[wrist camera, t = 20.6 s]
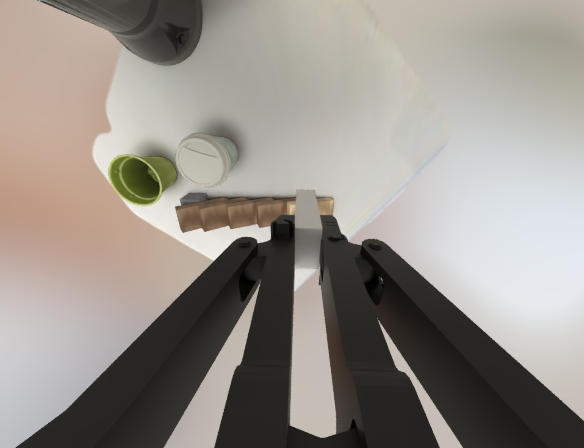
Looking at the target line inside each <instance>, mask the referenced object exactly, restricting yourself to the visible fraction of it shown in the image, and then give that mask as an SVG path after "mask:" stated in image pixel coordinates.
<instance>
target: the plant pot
mask: <svg viewBox="0 0 584 448" xmlns="http://www.w3.org/2000/svg"><path fill="white" fill-rule="evenodd" d="M108 175H109V180H110V182H111V185H112V186H113V188H114V190H115V191H116V192H117V193H118V194H119V195H120V196H121V197H122V198H123V199H125V200H126V201H128V202H130V203H132V204H135V205H138V206H149V205H152V204H154V203H156V202H157V201H158V200H159V199H160V197H161V194H162V192H163V191H164V190H166V189H167V188H168V187H169V186H170V185H171V184H173V183H174V182H175V180H176V178H177V173H176V170H175V167H174V165H173V164H172V163H171V162H170V161H169V160H168V159H166V158H164V157H138V156H135V155H130V154H123V155H119V156H117V157H115V158H114V159H113V160H112V161H111V163H110V165H109V168H108ZM156 177H157V178H158V180H157V179H156Z"/></svg>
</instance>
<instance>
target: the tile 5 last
mask: <svg viewBox="0 0 584 448" xmlns="http://www.w3.org/2000/svg"><path fill="white" fill-rule="evenodd" d="M225 200H227V199H226V198H225V197H223V198H218V199H213V200H207V201H202V202H197V203H192V204H187V205H181V206H176V207H175V209H176V213H177V217H178V221H179V224H180V228H181V231H182V232H183V233H184V232H188V231H192V230H196V229H199V228H202V225H201V220H200V216H199V211H198V206H201V205H206V204H211V203H216V202H220V201H225Z"/></svg>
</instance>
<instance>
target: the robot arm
mask: <svg viewBox="0 0 584 448" xmlns="http://www.w3.org/2000/svg"><path fill="white" fill-rule="evenodd" d="M38 1H40V2H43V3H45V4H48V5H50V6H52V7H54V8H57V9H59V10H62V11H64V12H66V13H69V14H71V15H74V16H76V17H78V18H80V19H83V20H85V21H88V22H90V23H92V24H95V25H97V26H99V27H102V28H104V29H107V30H108V31H109V32H111V33H112V34H113V35H114V36H115V37H116V38H117V39H118V40H119V41H120V42H121V43H122V44H123V45H124V46H125V47H126V48H127V49H128V50H129V51H131V52H132V53H134V54H135V55H137V56H139V57H140V58H142V59H145V60H147V61H150V62H153V63H156V64H159V65H174V64H177V63H180V62H182V61H183V60H185V59H186V58H187V57H188V56H189V55H190V54H191V53H192V52H193V50H194V49H195V47H196V45H197V43H198V40H199V37H200V33H201V27H202V9H201V2H200V0H38ZM319 266H320V276H319V285H321V290H322V299H323V307H324V316H325V323H326V333H327V341H328V349H329V358H330V366H331V374H332V383H333V391H334V400H335V408H336V434H335V435H332V436H329V437H326V438H320V437H317V436H314V435H312V434H309V433H307V432H304V431H302V430H299V429H297V428H295V427H292V426H290V399H291V367H292V336H293V304H294V270H295V269H319ZM381 278H382V280H383V281H382V280H381ZM260 281H261V282H260ZM259 284H260V287H259V291H258V295H257V299H256V304H255V308H254V312H253V316H252V321H251V325H250V329H249V333H248V338H247V342H246V346H245V350H244V355H243V359H242V362H241V364H240V365H239V366H237V367H236V369H235V371H234V375H233V378H232V381H231V385H230V389H229V393H228V396H227V400H226V405H225V409H224V412H223V416H222V420H221V424H220V428H219V432H218V435H217V439H216V443H215V447H214V448H440V447H439V445H438V443H437V440H436V438H435V436H434V433H433V431H432V428H431V426H430V424H429V421H428V419H427V417H426V414H425V412H424V409H423V407H422V405H421V402H420V400H419V397H418V395H417V393H416V390H415V388H414V386H413V384H412V382H411V380H410V378H409V377H408V376H407V375H406V373H404V372H401V371H399V370H398V369H397V368H396V366H395V364H394V362H393V359H392V356H391V354H390V351H389V349H388V346H387V343H386V340H385V338H384V335H383V332H382V330H381V327H380V324H379V322H378V320H379V321H380V323H381V324H382V326H383V327H384V329H385V330H386V332H387V333H388V335H389V336H390V338H391V339H392V341H393V343H394V344H395V346H396V347H397V349H398V350H399V351H400V353H401V355H402V356H403V358H404V359H405V361H406V362H407V364H408V365H409V367H410V368H411V370H412V371H413V373H414V374H415V376H416V377H417V379H418V380H419V382H420V383H421V385H422V386H423V388H424V389H425V391H426V392H427V394H428V395H429V397H430V398H431V400H432V401H433V403H434V404H435V406H436V407H437V409H438V410H439V412H440V413H441V415H442V417H443V418H444V420H445V421H446V423H447V424H448V426H449V427H450V428H451V430H452V432H453V433H454V435H455V436H456V438H457V439H458V440H459V442H460V444H461V445H462V447H463V448H584V421H583V420H582V419H581V418H580V417H579V416H578V415H577V414H576V413H574V412H573V411H572V410H571V409H570V408H569V407H568V406H567V405H565V404H564V403H563V402H562V401H561V400H560V399H559V398H558V397H557V396H555V395H554V394H553V393H552V392H551V391H550V390H549V389H548V388H546V387H545V386H544V385H543V384H542V383H541V382H540V381H539V380H537V379H536V378H535V377H534V376H533V375H532V374H531V373H530V372H528V370H526V369H525V368H524V367H523V366H522V365H521V364H520V363H518V362H517V361H516V360H515V359H514V358H513V357H512V356H511V355H510V354H508V353H507V352H506V351H505V350H504V349H503V348H502V347H501V346H499V345H498V344H497V343H496V342H495V341H494V340H493V339H492V338H490V337H489V336H488V335H487V334H486V333H485V332H484V331H483V330H482V329H481V328H479V327H478V326H477V325H476V324H475V323H474V322H473V321H471V319H469V318H468V317H467V316H466V315H465V314H464V313H463V312H462V311H461V310H459V309H458V308H457V307H456V306H455V305H454V304H453V303H452V302H450V301H449V300H448V299H447V298H446V297H445V296H444V295H443V294H442V293H440V292H439V291H438V290H437V289H436V288H435V287H434V286H433V285H431V284H430V283H429V282H428V281H427V280H426V279H425V278H424V277H422V276H421V275H420V274H419V273H418V272H417V271H416V270H415V269H414V268H412V267H411V266H410V265H409V264H408V263H407V262H406V261H404V259H402V258H401V257H400V256H399V255H398V254H397V253H396V252H395V251H393V250H392V249H391V248H390V247H389V246H388V245H387V244H385V243H384V242H382V241H379V240H377V239H376V240H375V239H367V240H364V241H363V242H362V245H357V244H353V243H350V242H348V240H347V238H346V236H345V235H343V234H341V232H340V229H339V226H338V223H337V220H336V218H335V217H333V216H332V215H320V214H319V209H318V204H317V199H316V194H315V190H296V207H295V215H280V216H279V217H278V219H276V220H274V221H272V222H271V240H269V241H267V242H263V243H257V240H256V239H254V238H252V237H241V238H239V239H236V240H235V241H234V242H233V243H232V244H231V245H230V246H229V247H228V248H227V249H226V250H225V251H224V252H223V253H222V254H221V255H220V256H219V257H218V258H217V259H216V260H215V261H214V262H213V263H212V264H211V265H210V266H209V267H208V268H207V269H206V270H205V271H204V272H203V273H202V274H201V275H200V276H199V277H198V278H197V279H196V280H195V281H194V282H193V283H192V284H191V285H190V286H189V287H188V288H187V289H186V290H185V291H184V292H183V293H182V294H181V295H180V296H179V297H178V298H177V299H176V300H175V301H174V302H173V303H172V304H171V305H170V306H169V307H168V308H167V309H166V310H165V311H164V312H163V313H162V314H161V315H160V316H159V317H158V318H157V319H156V320H155V321H154V322H153V323H152V324H151V325H150V326H149V327H148V328H147V329H146V330H145V331H144V332H143V333H142V334H141V335H140V336H139V337H138V338H137V339H136V340H135V341H134V342H133V343H132V344H131V345H130V346H129V347H128V348H127V349H126V350H125V351H124V352H123V353H122V354H121V355H120V356H119V357H118V358H117V359H116V360H115V361H114V362H113V363H112V364H111V365H110V366H109V368H107V370H105V371H104V372H103V373H102V374H101V375H100V376H99V377H98V378H97V379H96V380H95V381H94V382H93V383H92V384H91V385H90V386H89V387H88V388H87V389H86V391H84V392H83V393H82V395H81V396H79V397H78V399H76V400H75V402H74V403H73V404H72V405H71V406H70V407H69V408H68V409H67V410H66V411H64V412H63V413H62V414H60V415H59V416H58V417H56V418H55V419H54V420H52V421H51V422H49V423H48V424H47V425H46V426H44V427H43V428H41V429H40V430H39V431H37V432H36V433H35V434H33V435H32V436H31V437H29V438H28V439H27V440H25V441H24V442H23V443H21V444H20V445H18V446H17V447H16V448H164V446H165V444H166V442H167V441H168V439H169V437H170V436H171V434H172V432H173V431H174V429H175V427H176V426H177V424H178V422H179V420H180V419H181V417H182V415H183V414H184V412H185V410H186V409H187V407H188V405H189V403H190V402H191V400H192V398H193V397H194V395H195V393H196V391H197V390H198V388H199V386H200V385H201V383H202V381H203V380H204V378H205V376H206V374H207V373H208V371H209V369H210V367H211V366H212V364H213V362H214V361H215V359H216V357H217V355H218V354H219V352H220V351H221V349H222V347H223V345H224V344H225V342H226V340H227V339H228V337H229V335H230V333H231V332H232V330H233V328H234V327H235V325H236V323H237V322H238V320H239V318H240V316H241V315H242V313H243V311H244V310H245V308H246V306H247V305H248V303H249V301H250V299H251V298H252V296H253V294H254V293H255V291H256V289H257V287H258V286H259ZM377 318H378V319H377Z"/></svg>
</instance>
